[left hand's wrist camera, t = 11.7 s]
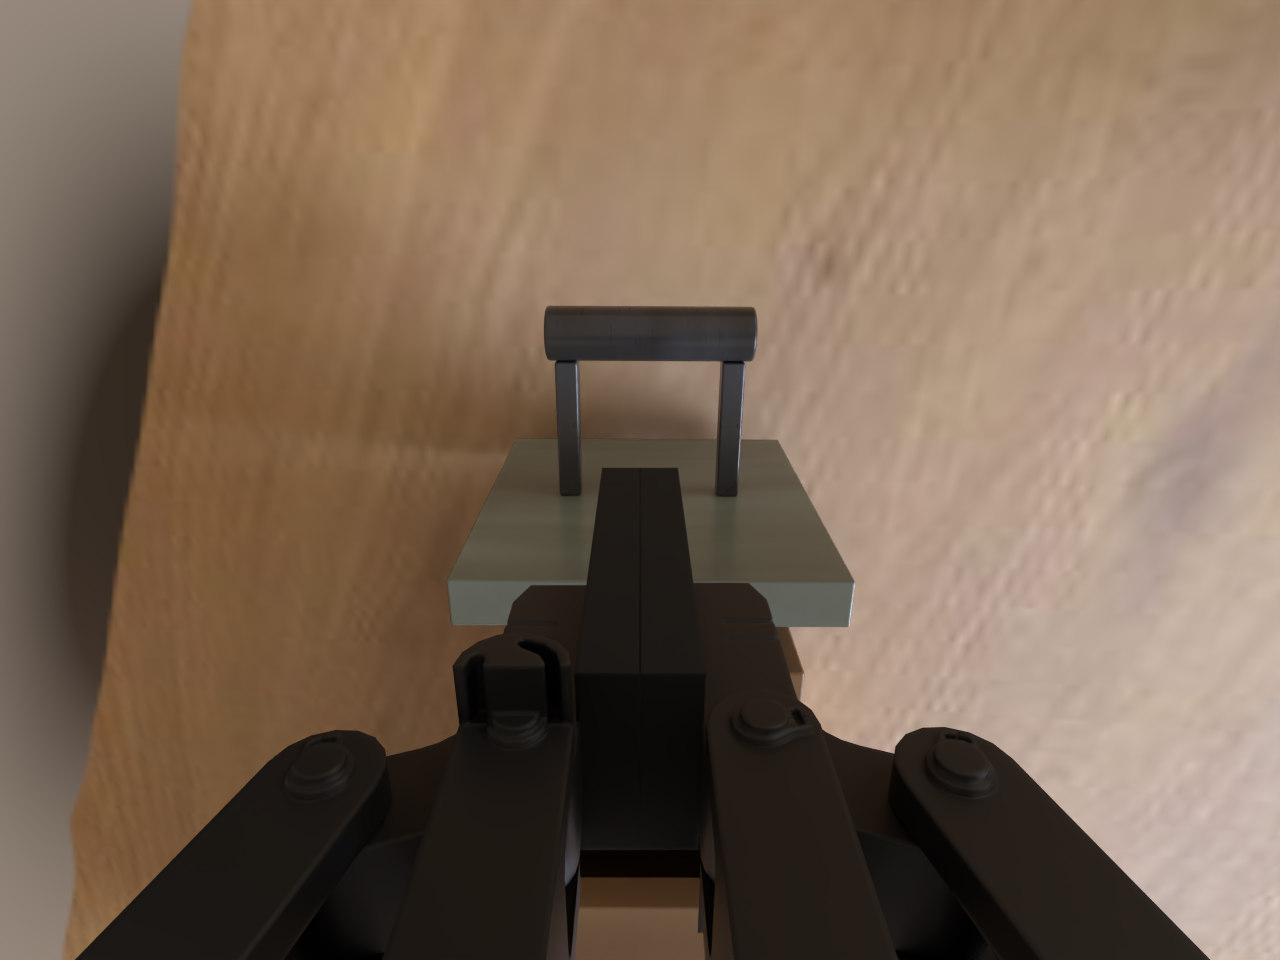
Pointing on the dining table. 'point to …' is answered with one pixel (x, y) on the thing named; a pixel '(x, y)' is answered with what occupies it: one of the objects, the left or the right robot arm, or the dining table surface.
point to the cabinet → (639, 919)
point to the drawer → (711, 494)
